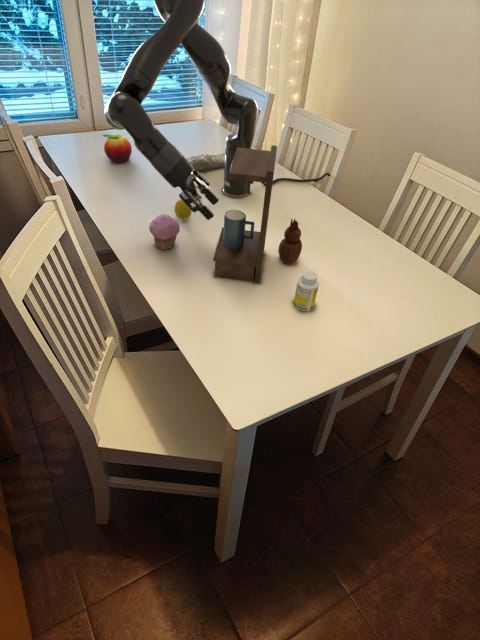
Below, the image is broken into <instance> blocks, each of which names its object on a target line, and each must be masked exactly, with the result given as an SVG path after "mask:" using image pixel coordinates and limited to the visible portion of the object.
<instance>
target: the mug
mask: <svg viewBox="0 0 480 640" xmlns="http://www.w3.org/2000/svg"><path fill="white" fill-rule="evenodd" d="M246 225H249V226H250V230H249V231H250V236H247V235H245V230H246ZM223 227H224V232H223V244H224V246H225V247H227V248H230V249H238V248H241V247H242V246H243V245H244V238H245V239H253V232H254V231H255V221H252V220H251V221H250V220H247V214H246V213H245V212H244V211H241V210H238V209H231V210H227V211H225V212H224V214H223Z"/></svg>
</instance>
